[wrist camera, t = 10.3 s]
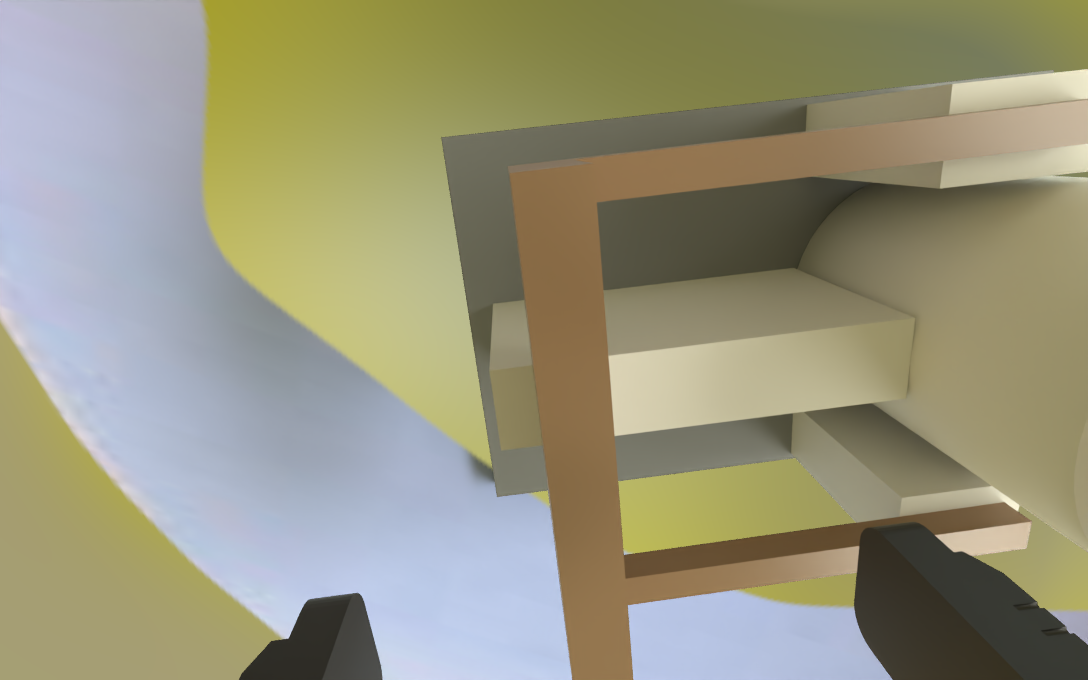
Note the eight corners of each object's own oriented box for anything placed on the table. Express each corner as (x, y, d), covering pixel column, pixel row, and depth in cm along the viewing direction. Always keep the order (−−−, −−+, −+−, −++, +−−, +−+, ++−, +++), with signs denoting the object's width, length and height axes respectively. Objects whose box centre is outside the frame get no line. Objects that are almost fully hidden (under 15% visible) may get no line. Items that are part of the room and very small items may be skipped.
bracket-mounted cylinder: (1029, 73, 22) (2745, -170, 5) (972, 422, 27) (1750, 875, 10) (443, 137, 21) (225, 99, 4) (497, 484, 26) (488, 1084, 9)
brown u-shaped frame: (1080, 99, 14) (1290, 81, 10) (999, 528, 18) (1127, 625, 15) (507, 166, 14) (509, 173, 10) (560, 589, 18) (575, 707, 14)
